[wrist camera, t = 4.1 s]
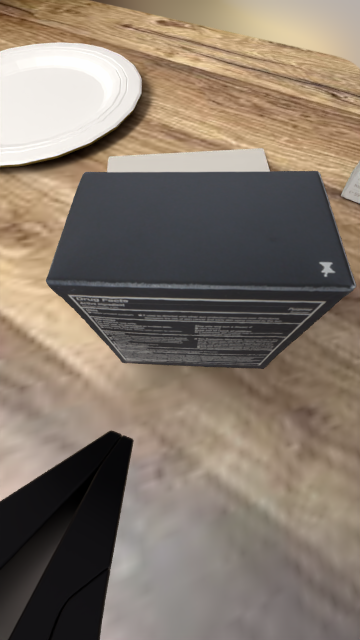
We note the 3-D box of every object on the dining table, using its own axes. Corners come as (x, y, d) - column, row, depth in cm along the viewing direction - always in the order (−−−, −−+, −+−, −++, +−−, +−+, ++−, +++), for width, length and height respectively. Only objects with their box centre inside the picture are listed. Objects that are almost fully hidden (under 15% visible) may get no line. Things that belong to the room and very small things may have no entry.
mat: (296, 271, 20) (298, 267, 20) (95, 281, 20) (93, 278, 20) (261, 153, 27) (263, 148, 26) (110, 161, 27) (108, 156, 26)
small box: (258, 291, 20) (326, 161, 10) (267, 370, 17) (370, 296, 7) (130, 288, 20) (79, 160, 11) (119, 364, 17) (36, 288, 8)
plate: (43, 44, 41) (37, 27, 39) (186, 88, 34) (186, 70, 32) (-123, 130, 31) (-141, 113, 30) (26, 218, 24) (13, 202, 22)
